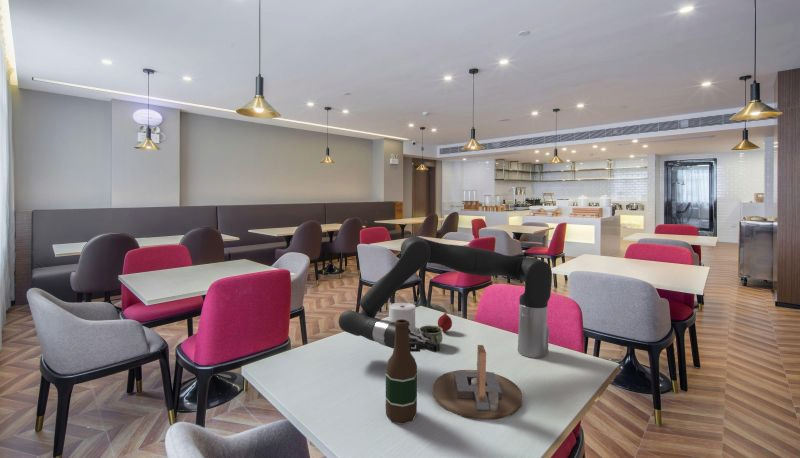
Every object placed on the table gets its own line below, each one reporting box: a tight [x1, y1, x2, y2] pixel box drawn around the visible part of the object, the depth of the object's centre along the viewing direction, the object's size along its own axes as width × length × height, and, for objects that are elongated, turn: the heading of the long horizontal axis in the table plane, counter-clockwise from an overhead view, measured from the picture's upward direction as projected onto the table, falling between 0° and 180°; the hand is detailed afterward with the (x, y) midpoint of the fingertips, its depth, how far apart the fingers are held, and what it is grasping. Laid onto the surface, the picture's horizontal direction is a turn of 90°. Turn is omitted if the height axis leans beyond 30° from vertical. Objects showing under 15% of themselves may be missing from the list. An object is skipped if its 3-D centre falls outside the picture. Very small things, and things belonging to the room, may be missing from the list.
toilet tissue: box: [388, 301, 416, 332], centre depth 156 cm, size 11×12×10 cm
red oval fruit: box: [437, 312, 453, 333], centre depth 153 cm, size 6×6×8 cm
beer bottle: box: [385, 319, 418, 425], centre depth 94 cm, size 8×8×24 cm
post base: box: [432, 369, 523, 421], centre depth 105 cm, size 24×24×6 cm
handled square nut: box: [453, 344, 502, 411], centre depth 102 cm, size 17×11×14 cm
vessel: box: [418, 324, 444, 348], centre depth 140 cm, size 12×9×6 cm
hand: (438, 348), depth 105 cm, fingers closed
